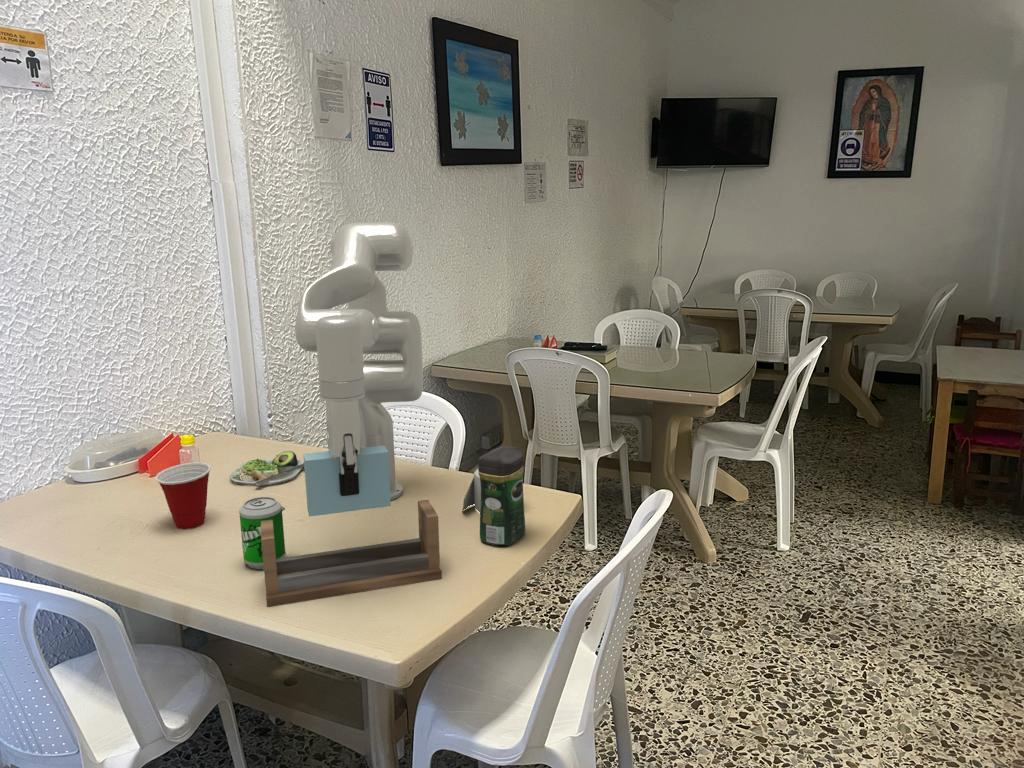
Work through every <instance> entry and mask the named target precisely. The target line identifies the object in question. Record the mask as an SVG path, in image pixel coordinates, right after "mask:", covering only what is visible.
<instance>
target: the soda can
mask: <svg viewBox="0 0 1024 768" xmlns="http://www.w3.org/2000/svg"><path fill="white" fill-rule="evenodd" d="M282 508H283V506H282V504H281V502H279V501H278V500H277V499H276V498H275V497H272V496H260V497H252V498H250V499H247V500H246V501H244V503H242V505H241V506H240V508H239V509H238V512H239V523H240V531H241V532H240V534H241V544H242V554H243V555H242V557H243V562H244V563H245V564H246V565H248V566H249V567H250V568H251V569H254V570H264V564H263V553H262V541H261V521H265V520H273V530H274V542H275V553H276V559H277V558H284V557H286V545H285V543H286V542H285V531H284V520H283V509H282Z"/></svg>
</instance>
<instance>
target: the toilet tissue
mask: <svg viewBox="0 0 1024 768" xmlns="http://www.w3.org/2000/svg"><path fill="white" fill-rule="evenodd" d="M472 477H473V478H472V480H471V482H470V485H469V487H468V489H467V491H466V494H465V496H464V498H463V505H462V511H461V512H463V510H464V509H466V508H467V507H468V506H470V505H473V504H475V506H474V509H475V508H476V509H477V510H478V511H479V512H480V510H481V483H480V477H479V473H478V468H477V469H476V470H475V471H474V473H473V476H472ZM463 513H464V512H463Z"/></svg>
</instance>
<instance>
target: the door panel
mask: <svg viewBox="0 0 1024 768" xmlns="http://www.w3.org/2000/svg"><path fill="white" fill-rule="evenodd" d="M302 454H303V462H304V478H305V479H304V482H305V494H306V507H307V512H308V517H316V516H323V515H331V514H338V513H346V512H348V513H349V512H354V511H362V510H363V511H364V510H370V509H378V508H388V507H391V506H392V505H391V501H392V500H391V501H390V480H389V458H388V451H387V449H386V447H385V445H384V446H374V447H364V448H361V454H360V455H359V456H358V457H357V455H356V460H357V471H358V477H359V494H357V495H349V496H341V495H340V483H339V473H341V472H340V459H339V457H336V459H333V458H332V457H331V455H330V452H329V450H327V451H319V452H308V453H302ZM342 456H345V453H342ZM344 462H346V460H343V464H344Z"/></svg>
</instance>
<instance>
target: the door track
mask: <svg viewBox="0 0 1024 768" xmlns="http://www.w3.org/2000/svg"><path fill="white" fill-rule="evenodd" d="M417 515H418V517H417V519H418V538H411V539H403V540H397V541H389V542H384V543H383V542H382V543H376V544H369V545H362V546H355V547H350V548H348V547H347V548H341V549H335V550H334V549H333V550H328V551H327V550H326V551H319V552H315V553H314V552H312V553H307V554H299V555H291V556H285V557H284V558H277V559H276V553H275V542H274V530H273V520H265V521H261V541H262V553H263V564H264V569H263V574H264V584H265V585H264V586H265V596H266V597H265V598H266V607H267V608H268V607H269V608H270V607H273V606H281V605H287V604H292V603H298V602H300V603H301V602H306V601H311V600H312V601H313V600H318V599H325V598H329V597H330V598H332V597H337V596H344V595H348V594H350V595H351V594H354V593H361V592H366V591H367V592H368V591H373V590H378V589H379V590H380V589H384V588H391V587H393V588H394V587H398V586H404V585H410V584H416V583H424V582H428V581H429V582H430V581H436V580H441V579H443V576H442V572H443V571H442V569H441V565H440V564H441V563H440V559H441V558H440V534H439V533H440V532H439V529H440V527H439V515H438V513H437V511H436V510H435V509H434V507H433V505H432V503H431V502H430V499H423V500H422V499H421V500H417Z"/></svg>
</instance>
